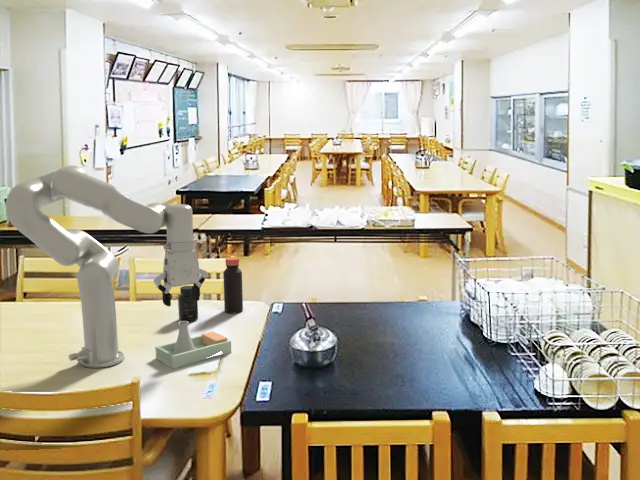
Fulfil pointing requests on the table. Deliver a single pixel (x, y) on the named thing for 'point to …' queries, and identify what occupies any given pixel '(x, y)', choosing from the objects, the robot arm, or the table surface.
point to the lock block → (212, 338)
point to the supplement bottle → (187, 305)
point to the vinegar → (233, 286)
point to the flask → (183, 339)
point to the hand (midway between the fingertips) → (181, 302)
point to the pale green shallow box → (190, 352)
